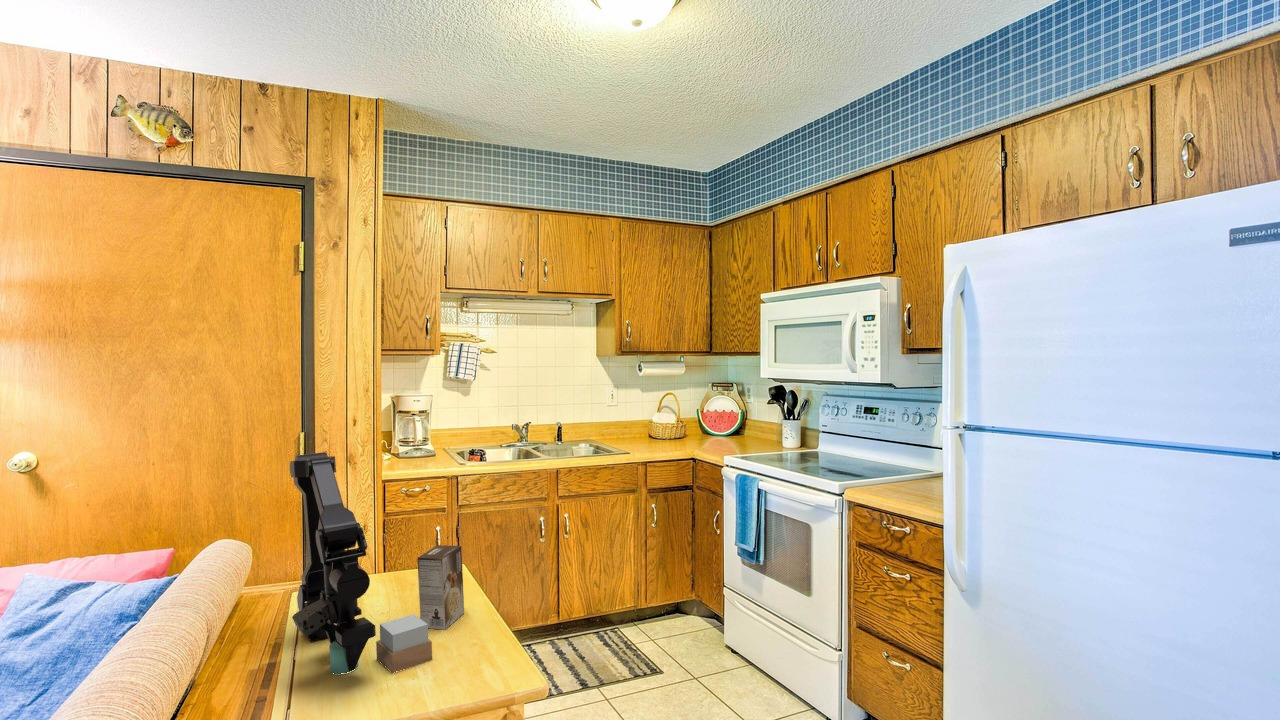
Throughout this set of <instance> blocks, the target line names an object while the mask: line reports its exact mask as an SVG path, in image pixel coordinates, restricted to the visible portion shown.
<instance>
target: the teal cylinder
mask: <svg viewBox="0 0 1280 720" xmlns="http://www.w3.org/2000/svg"><path fill="white" fill-rule="evenodd" d="M357 667H358V668H359V662H358V663H357V665H356V667H355V669H356V668H357ZM329 668H330V669H329V671H331V672H330V674H331V673H334V674H341V673H347V672H350V671H349V670H348V667H347V663H346V659H345V654H344V649H343V647H341V646H339V645H338V644H337V643H336V642H335V641H334V642H333V643H331V644H330V643H329ZM358 668H357V669H358ZM357 669H356V670H357Z"/></svg>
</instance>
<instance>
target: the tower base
mask: <svg viewBox="0 0 1280 720" xmlns="http://www.w3.org/2000/svg"><path fill="white" fill-rule="evenodd" d="M432 642H433V641H432V640H430V639H429V638H428V642H426V643H423V644H420V645H417V646H414V647H411V648H408V649H404V650H401V651H398V652H395V653H393V652H392V651H391V650H389V649H388V648H387V647H386V646H385V645H384V644H383V643H382V642H381V641H380V639H379V640H377V641H375V644H376V646H375V647H376V660H377V661H378V662H379V663H380V662H381V663H382V664H383V665H384V666H383V665H382V664H381V663H380V664H381V665H382V666H383V667H385V666H386V667H387V668H388V669H389V670H390V671H391V672H392V673H394V672H396V671H399V672H401V671H400V670H402V671H404V670H403V669H405V670H407V668H408V669H411V668H413V667H415V666H418V665H422V664H425V663H426V662H430V661H433V643H432ZM386 667H385V668H386ZM409 667H410V668H409ZM387 668H386V669H387ZM388 669H387V670H388ZM389 670H388V671H389ZM391 672H390V673H391ZM394 674H395V673H394Z"/></svg>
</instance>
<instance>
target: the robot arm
mask: <svg viewBox="0 0 1280 720" xmlns="http://www.w3.org/2000/svg"><path fill="white" fill-rule="evenodd" d="M336 464H337V463H336V456H334V455H331V456H328V453H327V452H326V451H323V452H314V453H307V454H304V453H303V454H298V455H297V454H296V455H295V457H294V460H290V461H289V474H290V477H291V478H293V484H294V486H295V487H296V488H297V490H298V491H299V492H300V493H301V494H302V496H303V497H302V498H303V509H304V510H303V511H304V520H305V521H304V522H305V535H306V550H307V558H308V559H307V560H308V563H307V564H306V566H305V567H304V568H305V569H304V571H303V572H302V574H301V584H299V587H298V592H297V597H296V601H297V608H298V611H297V612H296V613H294V614H293V615H292V616H291V618H292V620H293V622H294V625H295V626H296V628H297V630H298V632H300V633H301V635H302V636H303V637H305V638H306V639H307V641H309V642H316V641H319V640H323V639H326V638H327V639H328V642H329V645H330V644H331V643H333V642H334V641H335V642H336V643H337V644H338V645H339V646H341V647H343V649H344V654H345V659H346V663H347V667H348V670H349V671H352V670H354V669H355V667H356V665H357V663H358V664H359V660H360V658H361V655H362V654H363V653H362V652H363V651H364V649H365V647H366V645H367V643H368V641H369V639H372V638H375V636H376V635H377V634H376V633H377V632H376V625H375V624H374V623H373V622H372V621H370V620H369V619H368V618H366V617H365V616H363V617H360V618H355V617H359V616H361V615H362V609H361V608H360V607H359V604H358V601H359V600H358V599H359V598H361V597H362V596H364V595H365V594H366V593H367V591H368V590H369V588H370V582H371V580H370V576H369V574H368V572H367V571H366V570H365V569H363V568H362V566H361V565H360V564H359V558H362V557H366V556H367V552H366V550H367V549H368V543H367V539H366V536H365V533H364V529H363V527H361V523H360V522H357V519H356V517H355V513H354V512H353V511H352V510H350V509H349V508H347V507H345V504H344V503H343V499H342V496H341V491H340V488H339V486H338V482H337V478H336V475H335V473H337V465H336ZM356 545H357V547H356Z"/></svg>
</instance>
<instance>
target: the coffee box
mask: <svg viewBox="0 0 1280 720" xmlns="http://www.w3.org/2000/svg"><path fill="white" fill-rule="evenodd" d="M462 547H463V546H462V545H442V544H441V545H439V544H438V545H436V546H434V547H432V548H431V549H429V550H427V551H426V552H424V553H422V554H421V555H419V556H418V557H416V558H417V576H418V579H417V580H418V599H419V600H418V601H419V618H420V619H421V620H422V621H424V622H425V623H427V624H428V628H429V629H430V630H431V629H433V630H448V629H449V627H450V626H451V625H453V623H455V622H456V621H457V620H458V619H459V618H460V617H462V616H463V615H464V614H465V600H464V598H465V597H464V596H465V595H464V576H463V575H464V574H463V556H462V555H463V553H462V552H463V551H462ZM429 629H428V630H429Z"/></svg>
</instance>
